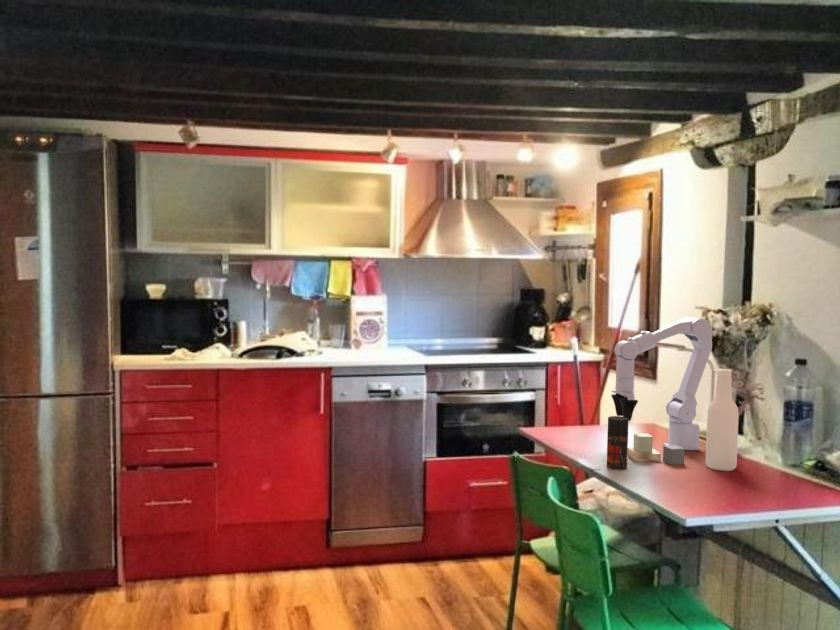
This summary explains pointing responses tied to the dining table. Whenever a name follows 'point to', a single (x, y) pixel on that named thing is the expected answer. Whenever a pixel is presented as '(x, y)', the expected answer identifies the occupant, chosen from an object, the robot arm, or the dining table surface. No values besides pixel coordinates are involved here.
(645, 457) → the birch slab
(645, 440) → the sage cube
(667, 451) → the grey cube
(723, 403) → the alcohol
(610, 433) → the deodorant
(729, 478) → the dining table surface
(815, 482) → the dining table surface
